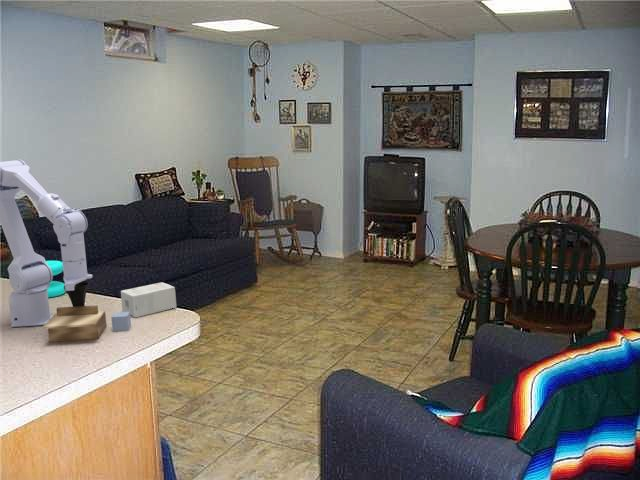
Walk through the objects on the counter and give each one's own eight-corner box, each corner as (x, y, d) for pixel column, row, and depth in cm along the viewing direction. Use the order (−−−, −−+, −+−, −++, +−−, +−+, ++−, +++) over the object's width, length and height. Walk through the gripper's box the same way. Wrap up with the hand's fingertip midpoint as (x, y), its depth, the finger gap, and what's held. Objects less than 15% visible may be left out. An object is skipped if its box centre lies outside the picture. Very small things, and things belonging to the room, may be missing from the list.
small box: (134, 318, 184) (177, 308, 192) (132, 296, 183) (175, 286, 191) (122, 312, 190) (164, 302, 199) (120, 290, 189) (162, 281, 197)
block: (112, 331, 174) (111, 317, 173) (115, 326, 178) (114, 312, 177) (128, 331, 174) (127, 316, 173) (131, 326, 178) (129, 311, 177)
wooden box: (49, 341, 167) (47, 326, 167) (59, 328, 177) (58, 313, 176) (98, 338, 169) (97, 323, 168) (106, 325, 178) (105, 311, 178)
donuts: (22, 265, 206) (47, 258, 215) (25, 297, 208) (50, 288, 217) (46, 268, 202) (70, 261, 210) (49, 300, 204) (74, 291, 212)
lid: (43, 328, 164) (42, 319, 163) (55, 315, 174) (54, 306, 174) (95, 325, 165) (94, 316, 165) (104, 312, 175) (103, 303, 175)
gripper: (83, 265, 165) (88, 317, 168) (96, 252, 179) (100, 301, 182) (54, 266, 164) (59, 319, 167) (68, 253, 178) (73, 302, 181)
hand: (79, 310), depth 174 cm, fingers closed
